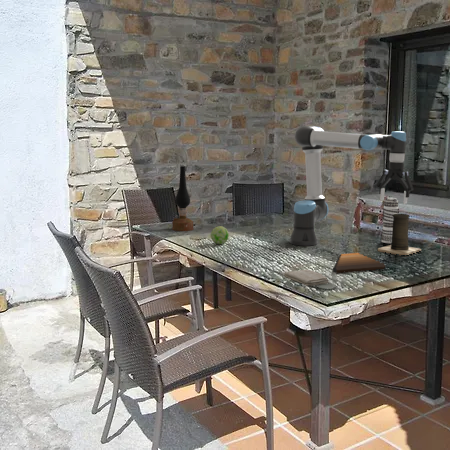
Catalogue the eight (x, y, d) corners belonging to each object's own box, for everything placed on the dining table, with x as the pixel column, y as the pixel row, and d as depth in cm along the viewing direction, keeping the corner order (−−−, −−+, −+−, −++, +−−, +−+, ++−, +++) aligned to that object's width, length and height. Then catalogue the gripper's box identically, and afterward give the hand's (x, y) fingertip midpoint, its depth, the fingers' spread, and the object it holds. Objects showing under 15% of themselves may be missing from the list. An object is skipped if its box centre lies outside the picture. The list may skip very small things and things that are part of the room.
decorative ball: (226, 246, 308) (227, 228, 306) (208, 245, 310) (208, 227, 308) (230, 242, 318) (230, 225, 316) (212, 242, 320) (212, 224, 318)
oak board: (405, 256, 289) (405, 253, 289) (377, 251, 300) (377, 248, 300) (420, 251, 300) (421, 248, 300) (393, 246, 311) (393, 244, 311)
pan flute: (336, 274, 254) (385, 270, 262) (337, 267, 254) (385, 263, 261) (311, 262, 278) (356, 258, 285) (311, 255, 277) (356, 252, 285)
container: (412, 249, 298) (414, 215, 295) (399, 251, 294) (401, 216, 291) (399, 246, 306) (401, 212, 303) (386, 247, 302) (388, 214, 299)
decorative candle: (394, 244, 319) (397, 199, 315) (378, 242, 324) (381, 198, 320) (399, 241, 327) (402, 198, 322) (383, 239, 332) (385, 196, 327)
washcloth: (308, 287, 233) (308, 280, 233) (282, 277, 249) (283, 270, 248) (330, 284, 239) (331, 276, 239) (304, 274, 255) (305, 267, 254)
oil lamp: (197, 234, 360) (210, 171, 356) (182, 233, 347) (196, 168, 343) (179, 229, 367) (192, 168, 363) (165, 228, 354) (178, 165, 350)
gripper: (422, 163, 290) (419, 204, 294) (379, 159, 308) (376, 198, 312) (415, 163, 285) (411, 205, 289) (371, 160, 303) (368, 199, 307)
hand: (393, 202), depth 301 cm, fingers open, 13 cm apart
